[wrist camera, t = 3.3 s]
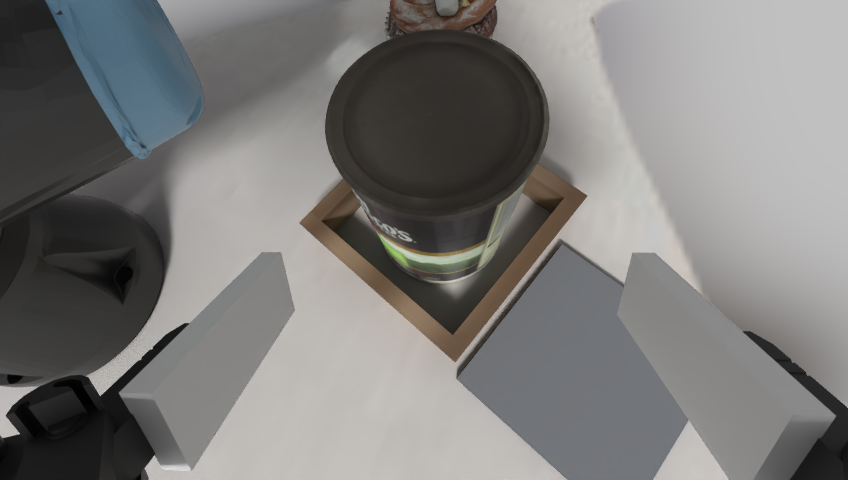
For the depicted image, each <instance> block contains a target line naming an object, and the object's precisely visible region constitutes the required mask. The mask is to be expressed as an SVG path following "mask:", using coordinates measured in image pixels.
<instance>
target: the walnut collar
mask: <svg viewBox="0 0 848 480" xmlns="http://www.w3.org/2000/svg"><path fill="white" fill-rule="evenodd" d="M522 193H524V194H525V195H527V196H528V197H529V198H531V199H532V200H534V201H535V202H537V203H538V204H540V205H541V206H543V207H544V208H546V209H547V210H548V211H550V212H551V213H552V214H551V215H550V216H549V217H548V219H547V220H546V221H545V222H544V224H543V225H542V226H541V227H540V229H539V230H538V231H537V232H536V233H535V235H534V236H533V237H532V238H531V240H530V241H529V242H528V243H527V245H526V246H525V247H524V248H523V249H522V251H521V252H520V253H519V254H518V256H517V257H516V258H515V259H514V261H513V262H512V263H511V264H510V266H509V267H508V268H507V269H506V270H505V272H504V273H503V274H502V275H501V277H500V278H499V279H498V280H497V282H496V283H495V284H494V285H493V286H492V288H491V289H490V290H489V291H488V293H487V294H486V295H485V296H484V298H483V299H482V300H481V301H480V302H479V304H478V305H477V306H476V307H475V309H474V310H473V311H472V312H471V314H470V315H469V316H468V317H467V318H466V320H465V321H464V322H463V323H462V325H461V326H460V327H459V328H458V330H457V331H456V332H455V333H454V334H453V335H452V334H451V333H450V332H448V331H447V330H446V329H445V328H444V327H443V326H442V325H440V324H439V323H438V322H437V321H436V320H435V319H434V318H432V317H431V316H430V315H429V314H428V313H427V312H425V311H424V310H423V309H422V308H421V307H420V306H419V305H417V304H416V303H415V302H414V301H413V300H412V299H410V298H409V297H408V296H407V295H406V294H405V293H404V292H402V291H401V290H400V289H399V288H398V287H397V286H395V285H394V284H393V283H392V282H391V281H390V280H389V279H387V278H386V277H385V276H384V275H383V274H382V273H381V272H379V271H378V270H377V269H376V268H375V267H374V266H372V265H371V264H370V263H369V262H368V261H367V260H366V259H364V258H363V257H362V256H361V255H360V254H359V253H357V252H356V251H355V250H354V249H353V248H352V247H351V246H349V245H348V244H347V243H346V242H345V241H344V240H343V239H341V238H340V237H339V236H338V235H337V234H336V233H335V232H336V231H337V230H338V229H339V228H340V227H341V226H342V225H343V224H344V223H345V222H346V220H347V219H348V218H349V217H350V216H351V215H352V214H353V213H354V212H355V211H356V210H357V209H358V208H359V207H360V206H361V204H360V202H359V200H358V198H357V197H356V195H355V193H354V192H353V190H352V188H351V187H350V186H349V185H348V184H347V182H346V181H345V180H344V179H343V180H342V181H341V182H340V183H339V184H338V185H337V186H336V187H335V188H334V189H333V190H332V191H331V192H330V193H329V194H328V195H327V196H326V197H325V198H324V199H323V200H322V201H321V202H320V203H319V204H318V205H317V206H316V207H315V208H314V209H313V210H312V211H311V212H310V213H309V214H308V215H307V216H306V217H305V218H304V219H303V220H302V221H301V222H300V224H301V225H302V226H303V227H304V228H305V229H306V230H308V231H309V232H310V233H311V234H312V235H313V236H314V237H315V238H316V239H318V240H319V241H320V242H321V243H322V244H323V245H324V246H325V247H327V248H328V249H329V250H330V251H331V252H332V253H333V254H334V255H335V256H337V257H338V258H339V259H340V260H341V261H342V262H343V263H344V264H346V265H347V266H348V267H349V268H350V269H351V270H352V271H353V272H355V273H356V274H357V275H358V276H359V277H360V278H361V279H362V280H364V281H365V282H366V283H367V284H368V285H369V286H370V287H371V288H372V289H374V290H375V291H376V292H377V293H378V294H379V295H380V296H381V297H383V298H384V299H385V300H386V301H387V302H388V303H389V304H390V305H392V306H393V307H394V308H395V309H396V310H397V311H398V312H399V313H400V314H402V315H403V316H404V317H405V318H406V319H407V320H408V321H409V322H411V323H412V324H413V325H414V326H415V327H416V328H417V329H418V330H420V331H421V332H422V333H423V334H424V335H425V336H426V337H427V338H429V339H430V340H431V341H432V342H433V343H434V344H435V345H436V346H437V347H439V348H440V349H441V350H442V351H443V352H444V353H445V354H446V355H448V356H449V357H450V358H451V359H452V360H453V361H454V362H456V361H457V359H458V358H459V357H460V356H461V354H462V353H463V352H464V351H465V349H466V348H467V347H468V346H469V344H470V343H471V342H472V341H473V339H474V338H475V337H476V336H477V334H478V333H479V332H480V331H481V329H482V328H483V327H484V325H485V324H486V323H487V322H488V320H489V319H490V318H491V317H492V315H493V314H494V313H495V312H496V310H497V309H498V308H499V307H500V305H501V304H502V303H503V302H504V300H505V299H506V298H507V297H508V295H509V294H510V293H511V292H512V290H513V289H514V288H515V286H516V285H517V284H518V283H519V281H520V280H521V279H522V278H523V276H524V275H525V274H526V273H527V271H528V270H529V269H530V268H531V266H532V265H533V264H534V263H535V261H536V260H537V259H538V258H539V256H540V255H541V254H542V252H543V251H544V250H545V249H546V247H547V246H548V245H549V244H550V242H551V241H552V240H553V239H554V237H555V236H556V235H557V234H558V232H559V231H560V230H561V229H562V227H563V226H564V225H565V224H566V222H567V221H568V220H569V218H570V217H571V216H572V215H573V213H574V212H575V211H576V210H577V208H578V207H579V206H580V205H581V203H582V202H583V201H584V200H585V198H586V197H587V195H586V194H584V193H583V192H581V191H580V190H578V189H577V188H575V187H573V186H572V185H570V184H569V183H567V182H566V181H564V180H563V179H561V178H560V177H558V176H557V175H555V174H553V173H552V172H550V171H549V170H547V169H546V168H544V167H543V166H541V165H540V164H538V163H537V164H536V166H535V168H534V169H533V171H532V173H531V174H530V176H529V177H528V179H527V181H526V183H525V185H524V188H523V190H522Z"/></svg>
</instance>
